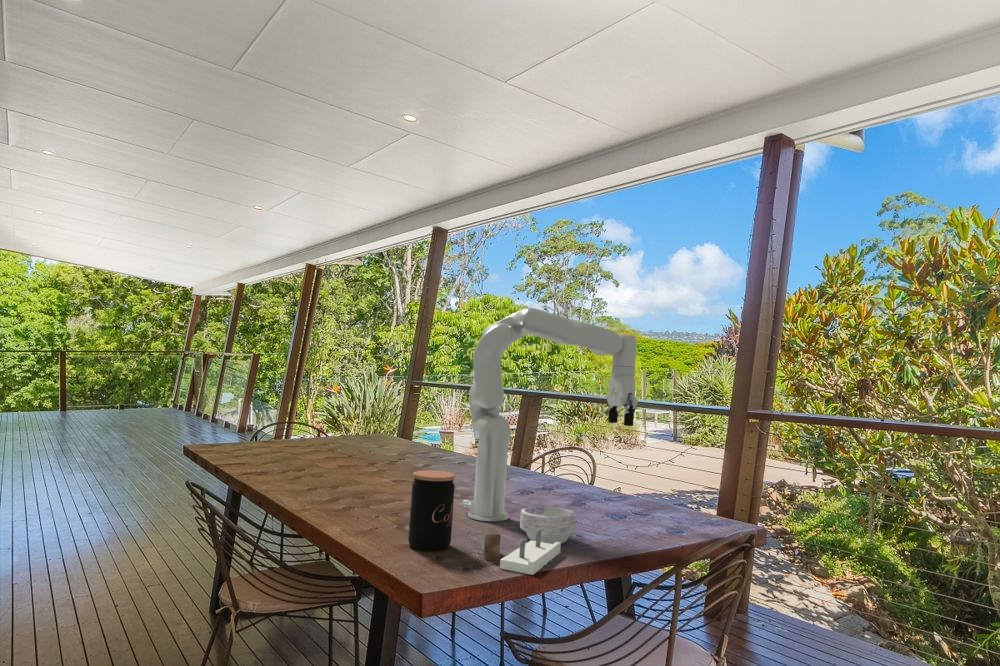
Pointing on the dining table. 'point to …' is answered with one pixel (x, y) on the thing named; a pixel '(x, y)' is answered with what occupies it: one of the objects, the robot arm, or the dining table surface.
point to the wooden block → (491, 543)
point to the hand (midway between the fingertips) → (620, 424)
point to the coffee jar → (431, 510)
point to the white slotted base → (530, 556)
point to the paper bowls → (548, 523)
